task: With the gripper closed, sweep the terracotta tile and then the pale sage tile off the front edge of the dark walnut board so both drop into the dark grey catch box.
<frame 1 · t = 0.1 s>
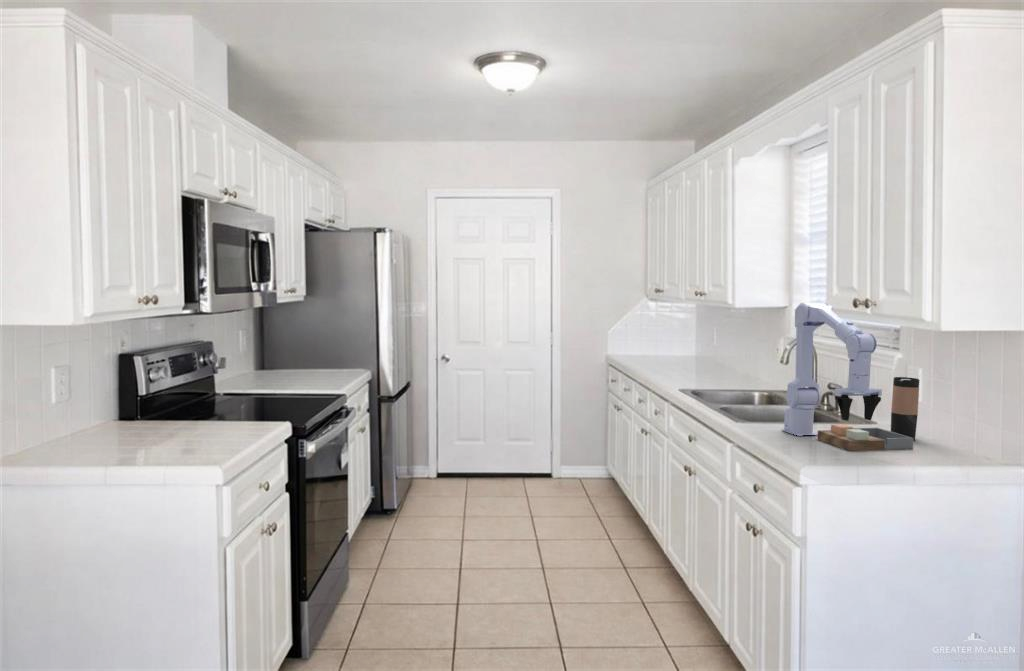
hand: (856, 419, 219), 10 cm above the table, tool pointing down, fingers open, 7 cm apart
board: (849, 444, 231), on the table
tile terracotta: (841, 433, 233), point 3 cm above the table, touching board
travel mug: (902, 439, 241), on the table
tile sage: (857, 438, 226), point 3 cm above the table, touching board
catch box: (880, 443, 233), on the table
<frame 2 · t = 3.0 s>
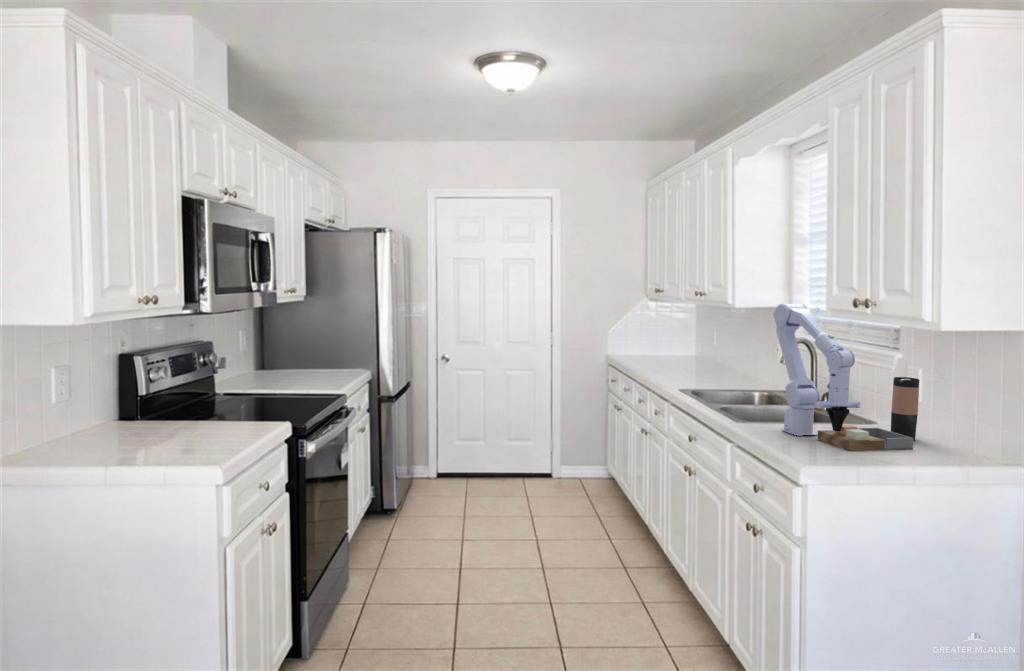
hand: (836, 430, 233), 4 cm above the table, tool pointing down, fingers closed
tile terracotta: (845, 433, 233), point 3 cm above the table, touching gripper
everything else where it was.
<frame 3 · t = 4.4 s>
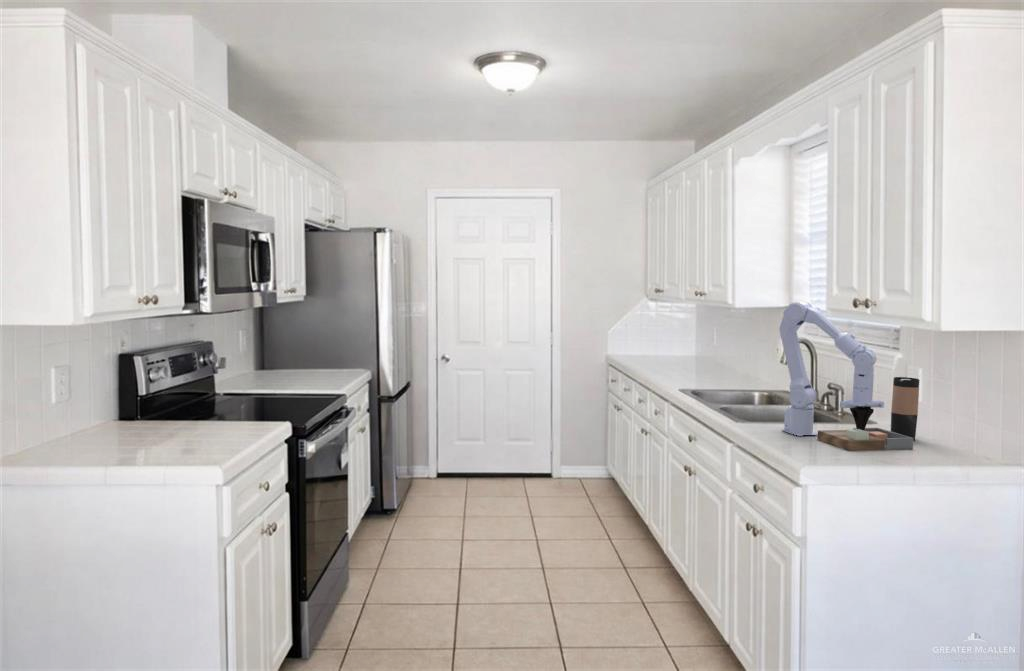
hand: (860, 430, 234), 4 cm above the table, tool pointing down, fingers closed
tile terracotta: (876, 432, 236), point 3 cm above the table, tilted 180°, touching catch box
everything else where it was.
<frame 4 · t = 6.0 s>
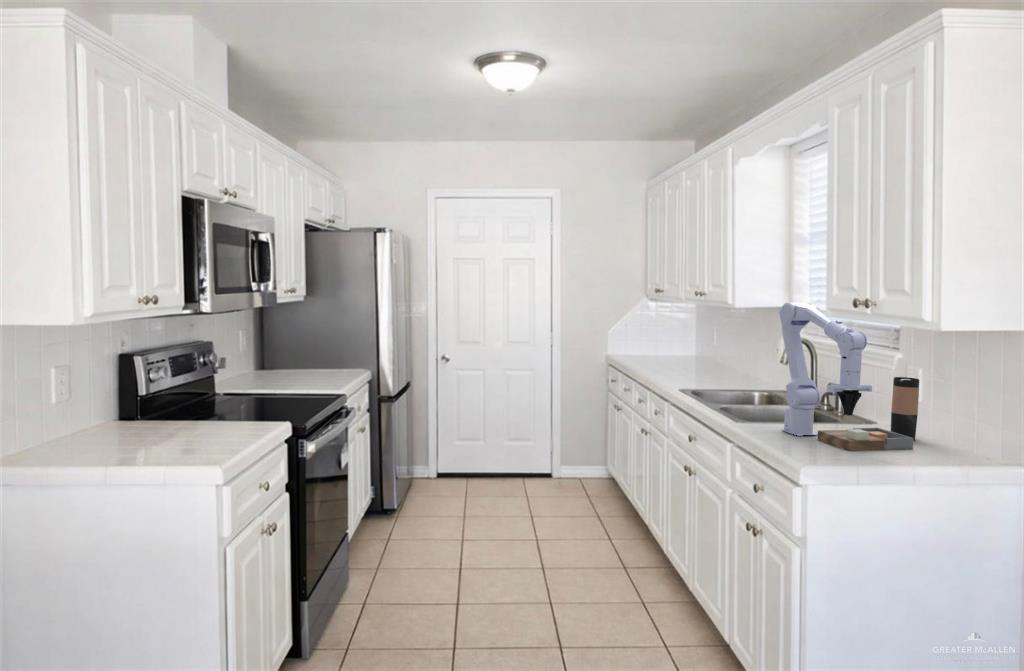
hand: (848, 414, 227), 10 cm above the table, tool pointing down, fingers closed
nothing on the table moved.
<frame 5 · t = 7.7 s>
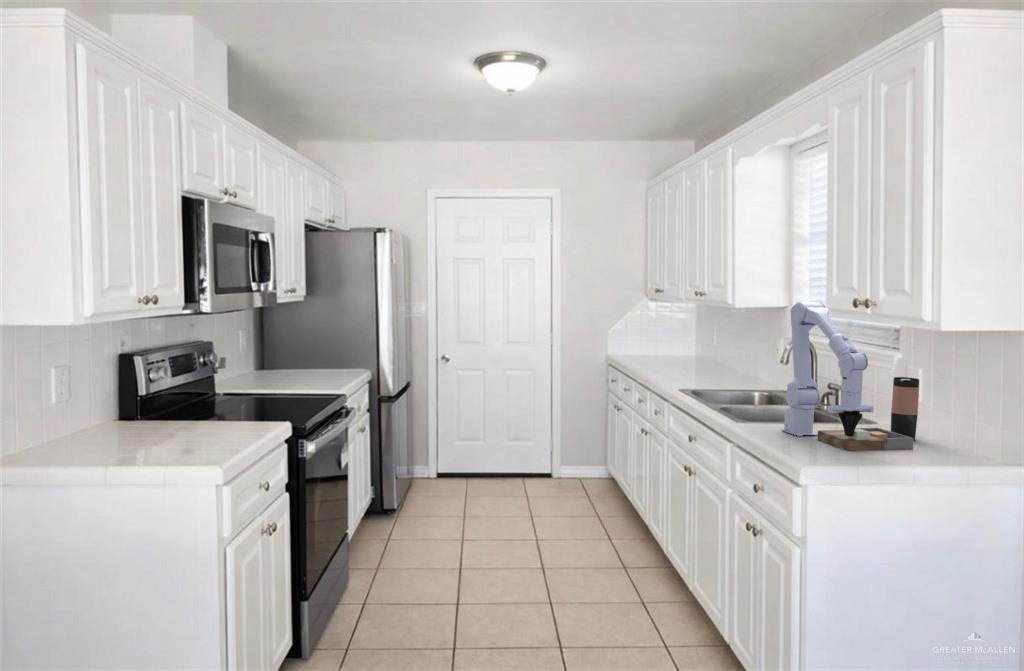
hand: (848, 435, 225), 4 cm above the table, tool pointing down, fingers closed
tile sage: (858, 438, 226), point 3 cm above the table, touching gripper
everything else where it was.
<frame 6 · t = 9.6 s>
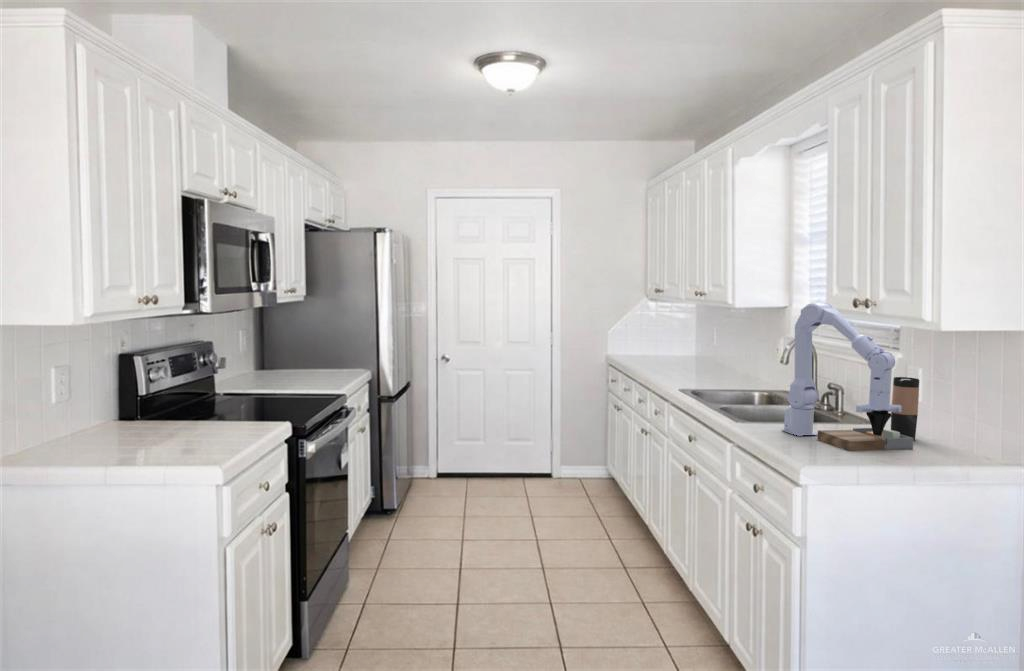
hand: (877, 435, 227), 4 cm above the table, tool pointing down, fingers closed
tile sage: (887, 438, 228), point 3 cm above the table, tilted 90°, touching catch box
everything else where it was.
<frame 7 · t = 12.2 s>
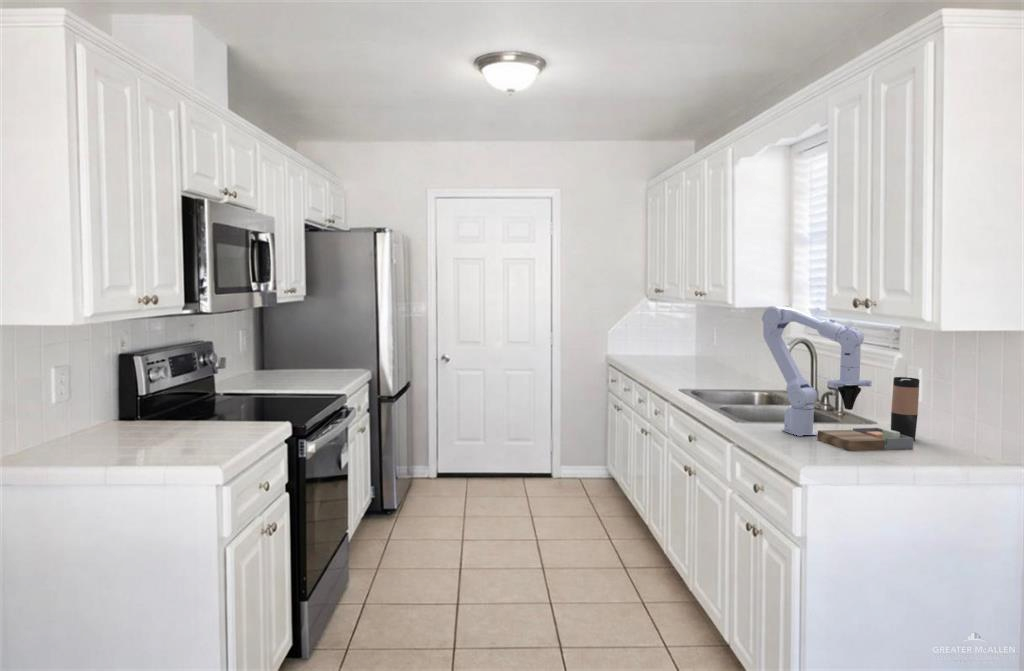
hand: (848, 409, 235), 10 cm above the table, tool pointing down, fingers closed
nothing on the table moved.
at the end: tile terracotta inside the target area (2.9 cm from its centre), point 2.9 cm above the table; tile sage inside the target area (4.3 cm from its centre), point 2.7 cm above the table; travel mug moved 0.2 cm from its start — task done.
